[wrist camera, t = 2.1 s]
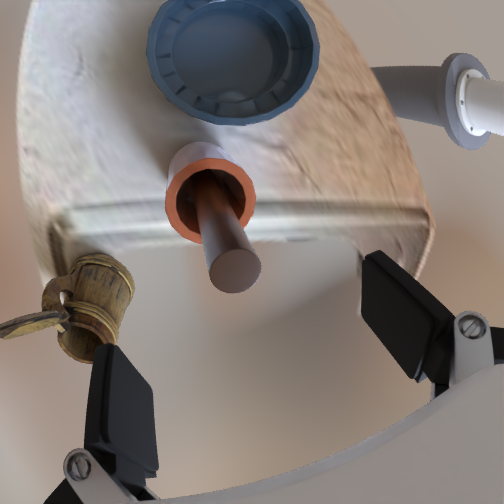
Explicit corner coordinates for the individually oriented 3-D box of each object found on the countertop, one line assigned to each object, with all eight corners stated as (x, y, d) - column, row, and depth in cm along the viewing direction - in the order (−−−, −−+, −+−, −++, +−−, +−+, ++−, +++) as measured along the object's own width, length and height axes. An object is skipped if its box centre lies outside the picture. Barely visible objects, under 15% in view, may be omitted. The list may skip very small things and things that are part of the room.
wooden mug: (91, 209, 29) (30, 309, 14) (146, 296, 36) (142, 415, 21) (39, 242, 29) (-26, 342, 14) (96, 318, 36) (75, 429, 21)
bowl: (278, -12, 22) (298, -30, 17) (307, 105, 30) (333, 108, 25) (139, 14, 20) (131, -5, 15) (173, 139, 28) (172, 147, 23)
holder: (221, 133, 29) (243, 147, 20) (237, 190, 33) (263, 228, 23) (161, 152, 29) (152, 176, 19) (180, 208, 32) (182, 255, 23)
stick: (208, 158, 30) (255, 241, 13) (214, 179, 31) (266, 284, 14) (186, 165, 29) (202, 259, 12) (192, 186, 31) (218, 300, 14)
